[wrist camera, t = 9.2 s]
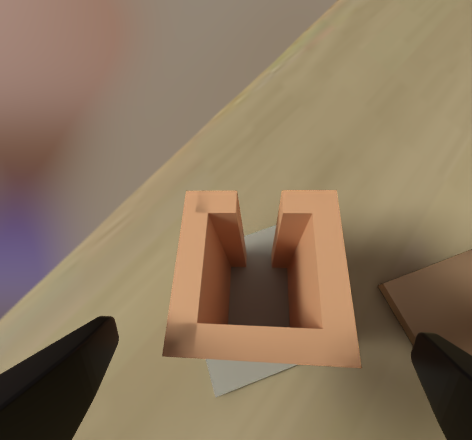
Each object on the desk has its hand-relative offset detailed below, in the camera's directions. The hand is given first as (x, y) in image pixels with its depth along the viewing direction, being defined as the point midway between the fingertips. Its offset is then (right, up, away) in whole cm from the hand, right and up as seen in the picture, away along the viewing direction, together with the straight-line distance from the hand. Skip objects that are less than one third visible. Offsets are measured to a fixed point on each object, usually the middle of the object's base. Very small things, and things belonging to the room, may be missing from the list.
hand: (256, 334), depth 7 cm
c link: (+1, -2, +9) cm, 10 cm away
